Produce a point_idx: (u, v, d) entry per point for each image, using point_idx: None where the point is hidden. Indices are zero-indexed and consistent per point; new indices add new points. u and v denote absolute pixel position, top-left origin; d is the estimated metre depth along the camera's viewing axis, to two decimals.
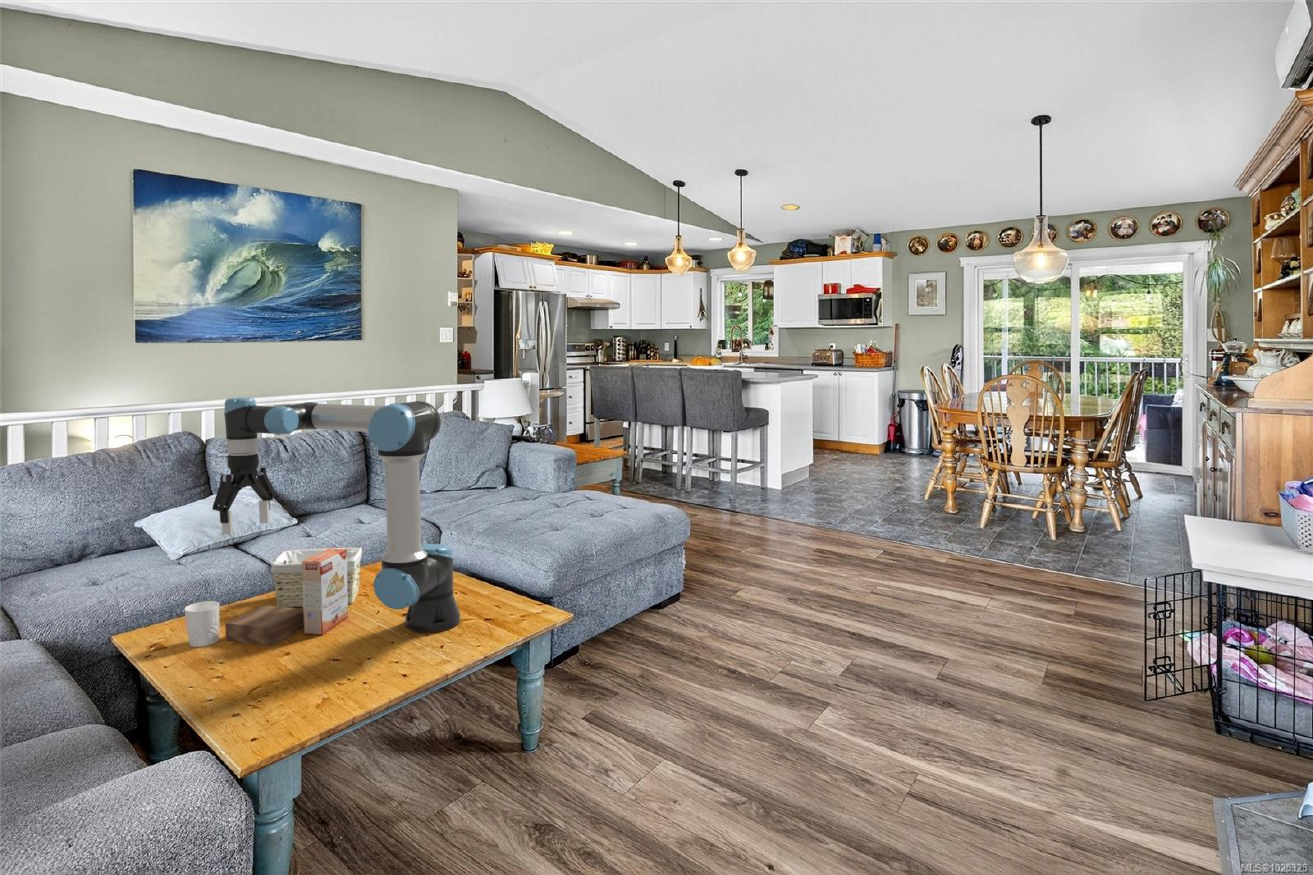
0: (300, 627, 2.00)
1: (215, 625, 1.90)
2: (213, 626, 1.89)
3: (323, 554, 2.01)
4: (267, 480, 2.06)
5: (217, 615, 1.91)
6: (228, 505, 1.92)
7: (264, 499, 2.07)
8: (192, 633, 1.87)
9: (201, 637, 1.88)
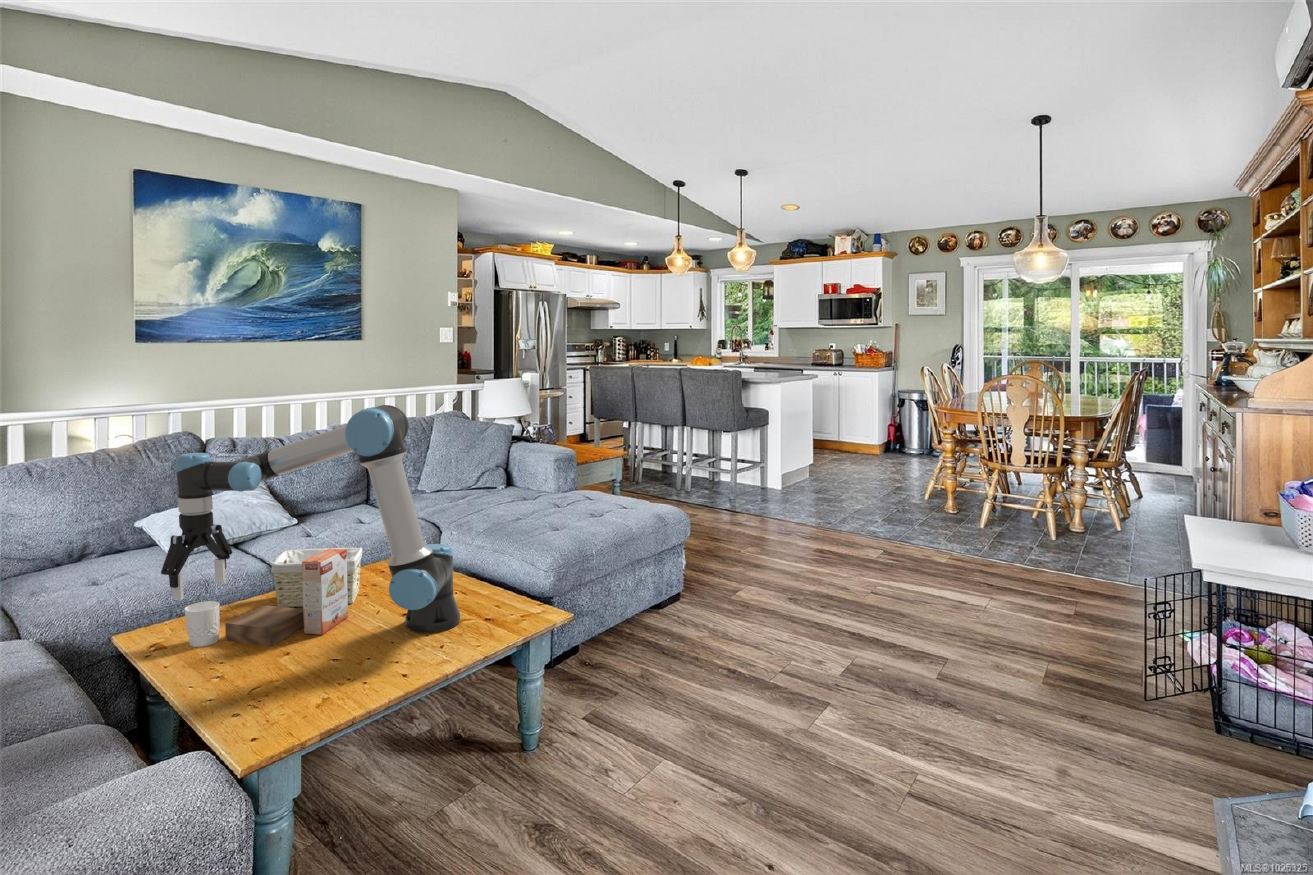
0: (300, 627, 2.00)
1: (215, 625, 1.90)
2: (213, 626, 1.89)
3: (323, 554, 2.01)
4: (223, 538, 1.95)
5: (217, 615, 1.91)
6: (178, 569, 1.81)
7: (220, 558, 1.95)
8: (192, 633, 1.87)
9: (201, 637, 1.88)
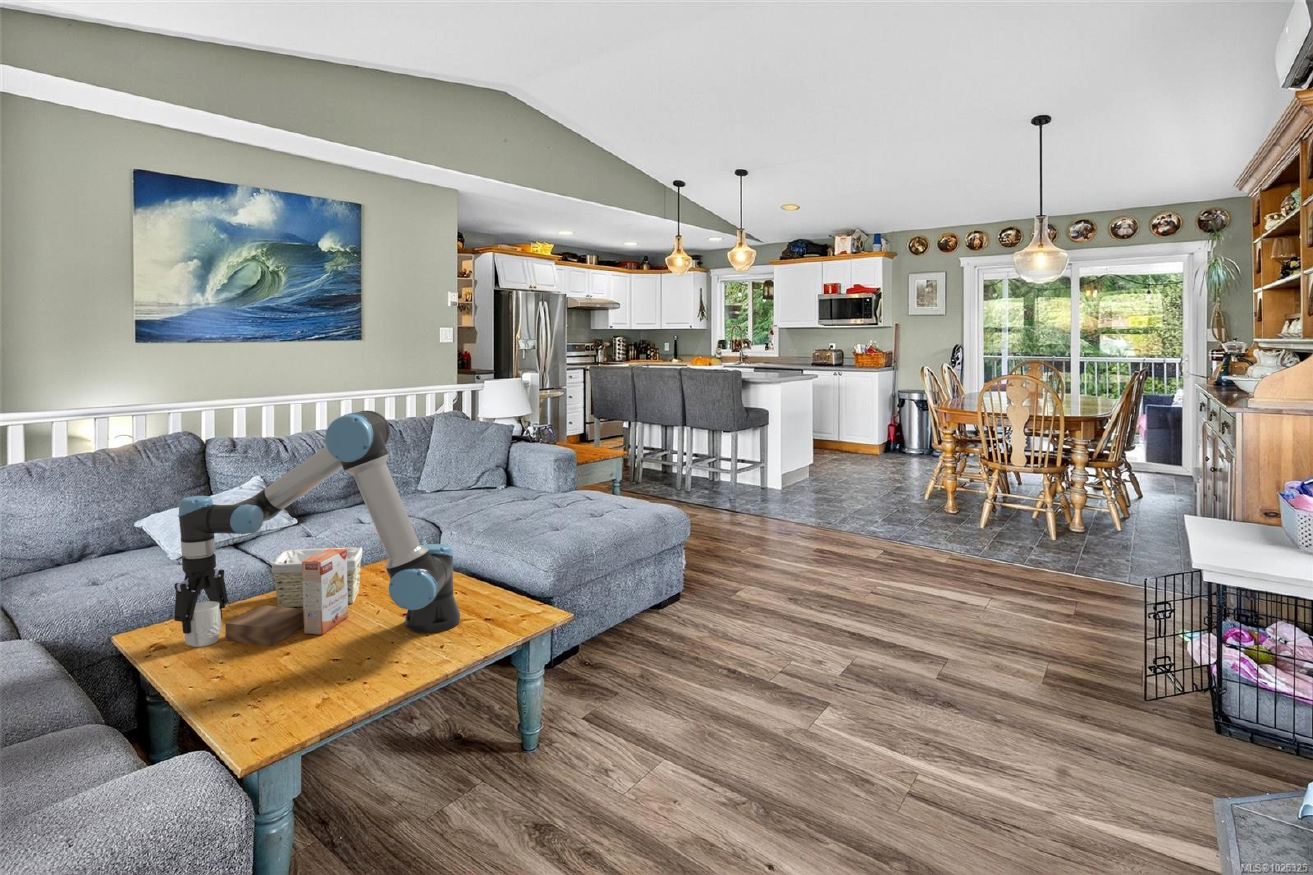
0: (300, 627, 2.00)
1: (215, 625, 1.90)
2: (213, 625, 1.89)
3: (323, 554, 2.01)
4: (223, 584, 1.95)
5: (217, 615, 1.91)
6: (190, 615, 1.85)
7: None
8: None
9: (201, 637, 1.88)
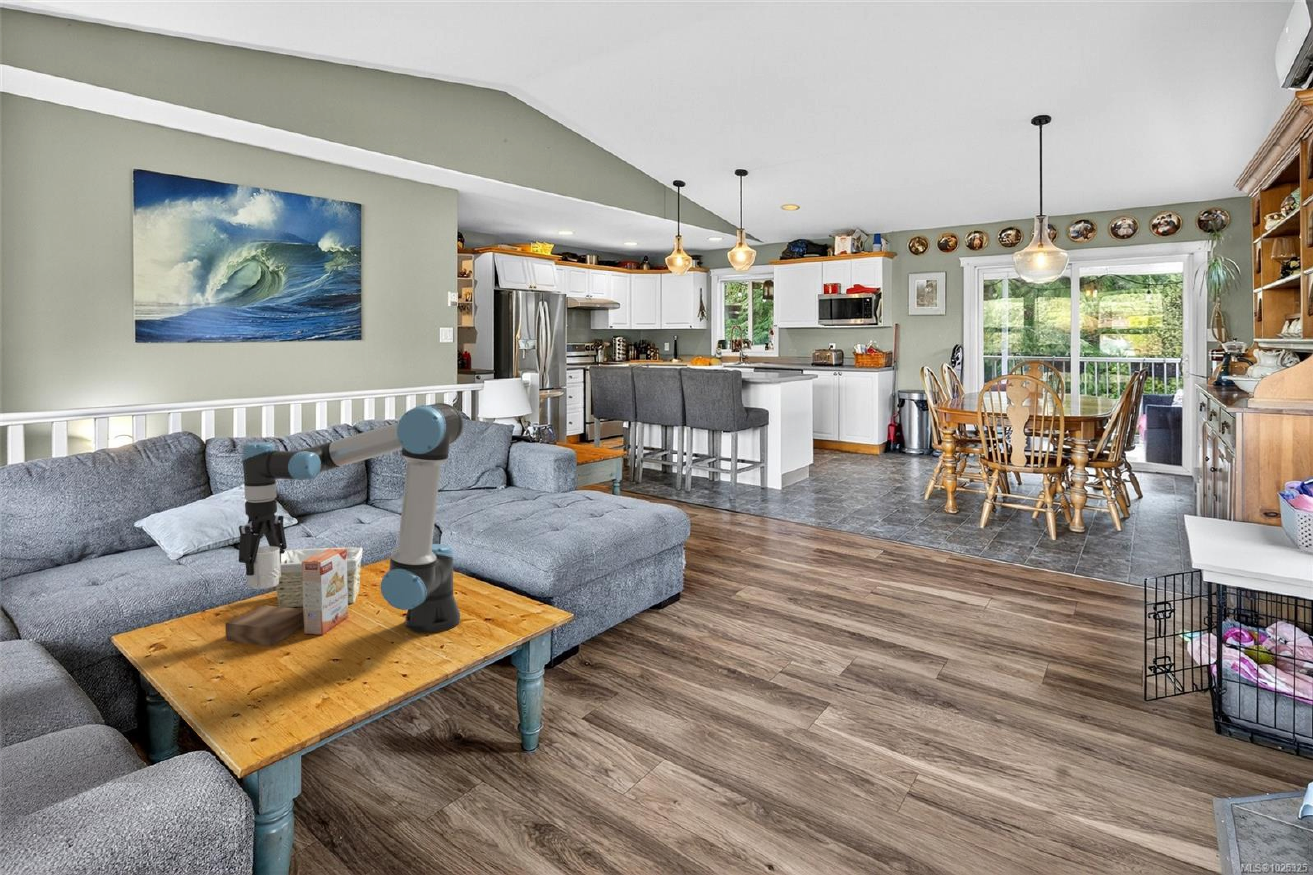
0: (300, 627, 2.00)
1: (276, 568, 1.95)
2: (274, 569, 1.94)
3: (323, 554, 2.01)
4: (282, 530, 2.00)
5: (278, 559, 1.95)
6: (253, 557, 1.90)
7: None
8: None
9: (263, 579, 1.92)
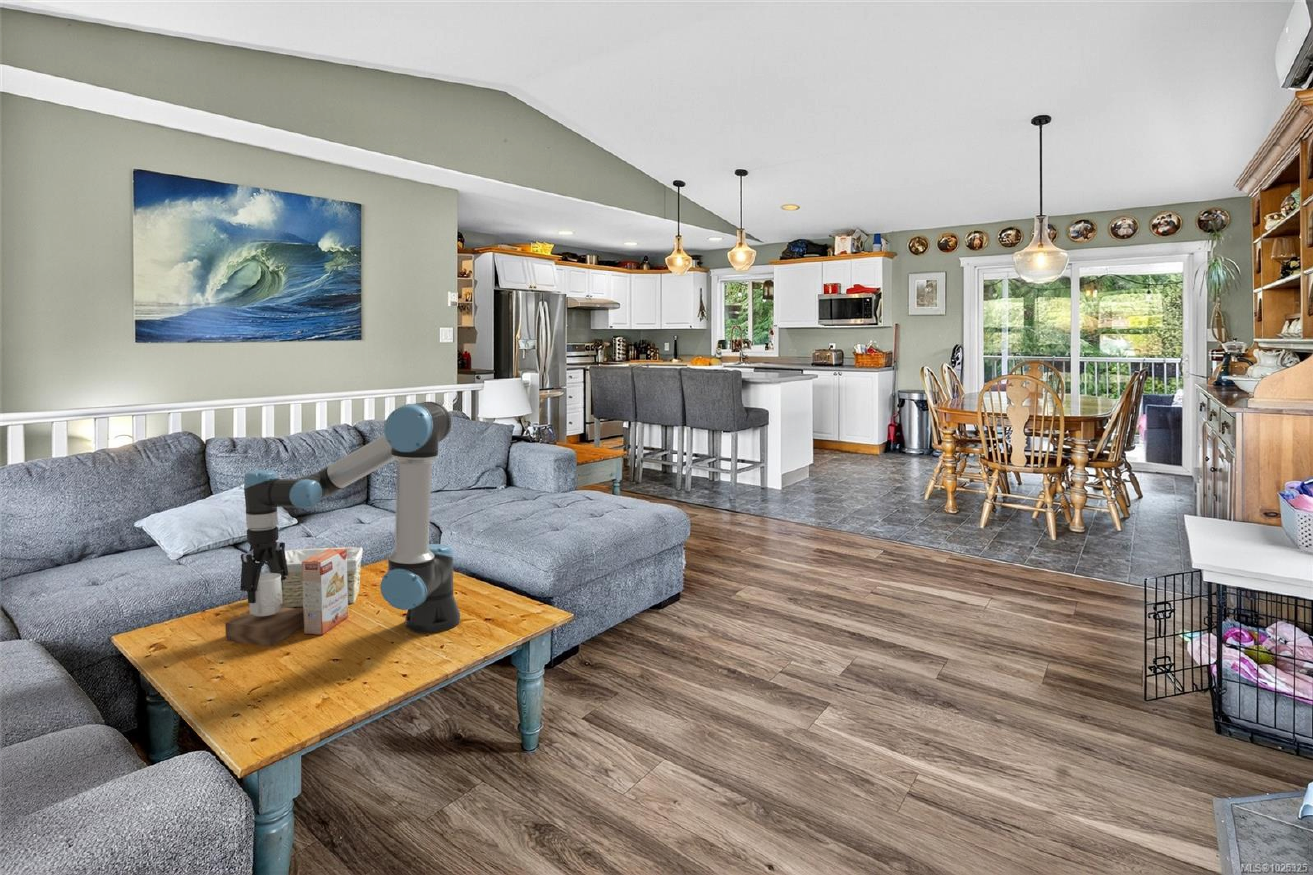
0: (300, 627, 2.00)
1: (277, 595, 1.96)
2: (276, 596, 1.95)
3: (323, 554, 2.01)
4: (284, 556, 2.01)
5: (279, 586, 1.96)
6: (255, 585, 1.91)
7: None
8: None
9: (264, 607, 1.93)
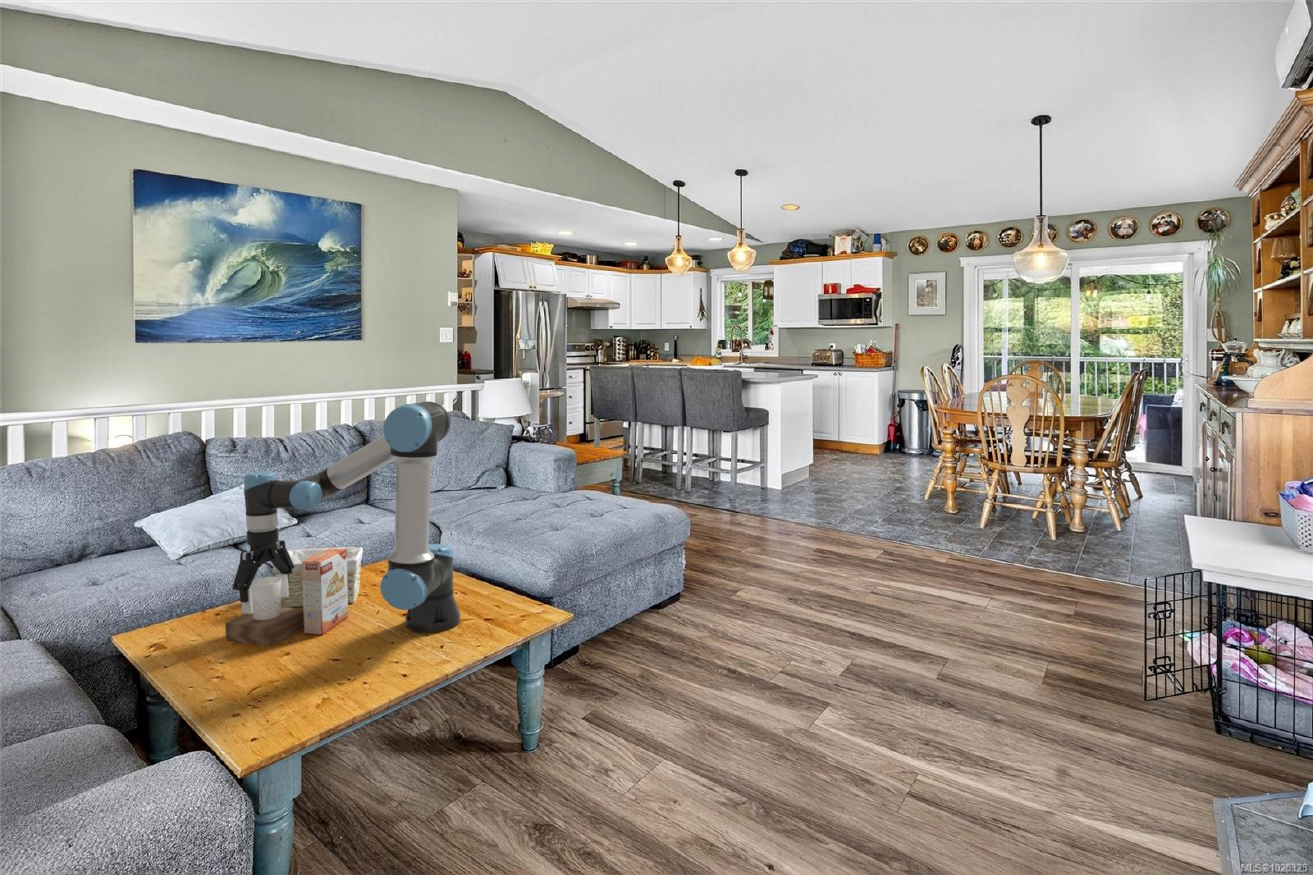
0: (300, 627, 2.00)
1: (278, 599, 1.96)
2: (276, 600, 1.95)
3: (323, 554, 2.01)
4: (286, 553, 2.02)
5: (279, 590, 1.96)
6: (248, 584, 1.88)
7: (283, 572, 2.02)
8: (256, 607, 1.93)
9: (265, 611, 1.93)
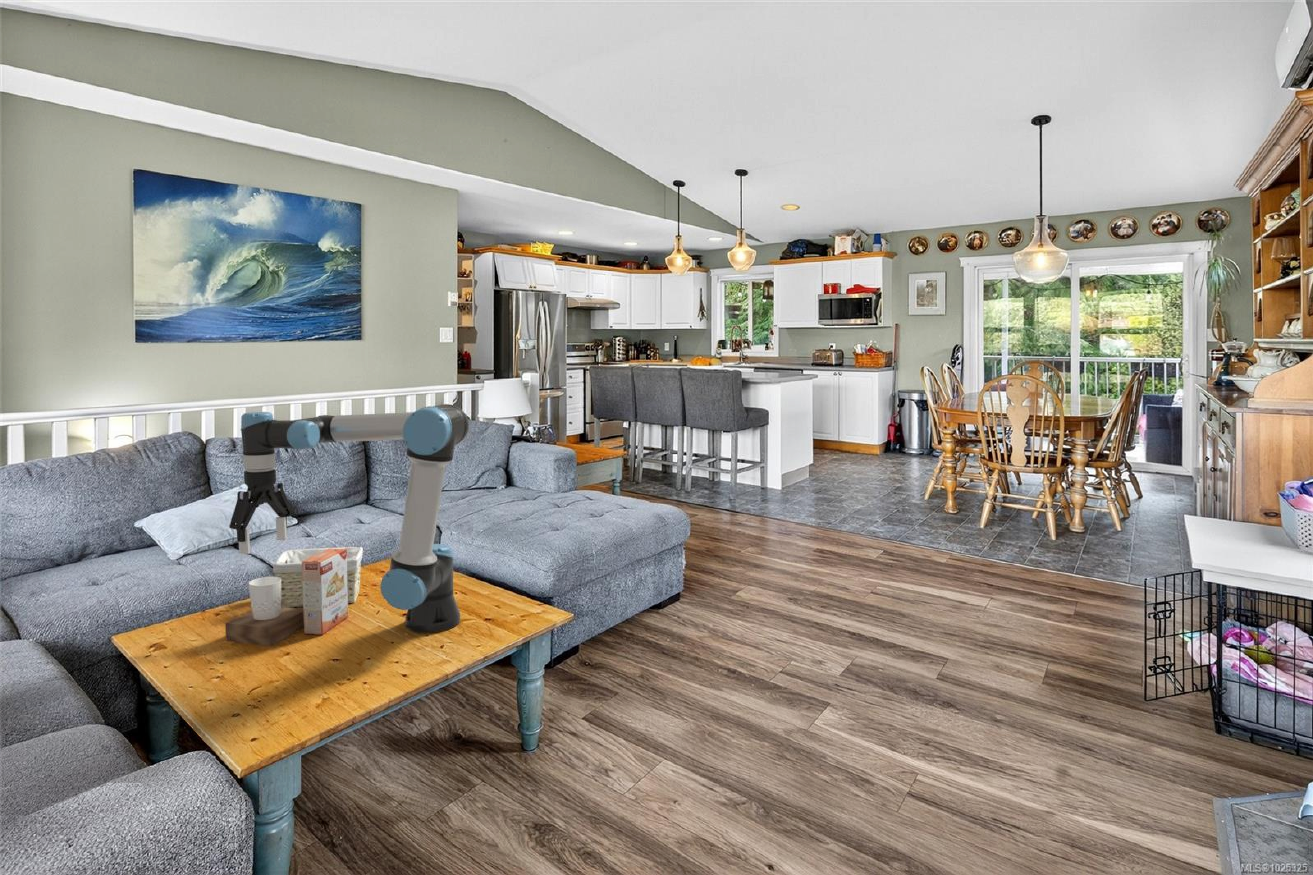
0: (300, 627, 2.00)
1: (278, 599, 1.96)
2: (276, 600, 1.95)
3: (323, 554, 2.01)
4: (284, 496, 2.00)
5: (279, 590, 1.96)
6: (245, 523, 1.86)
7: (281, 516, 2.01)
8: (256, 607, 1.93)
9: (265, 611, 1.93)
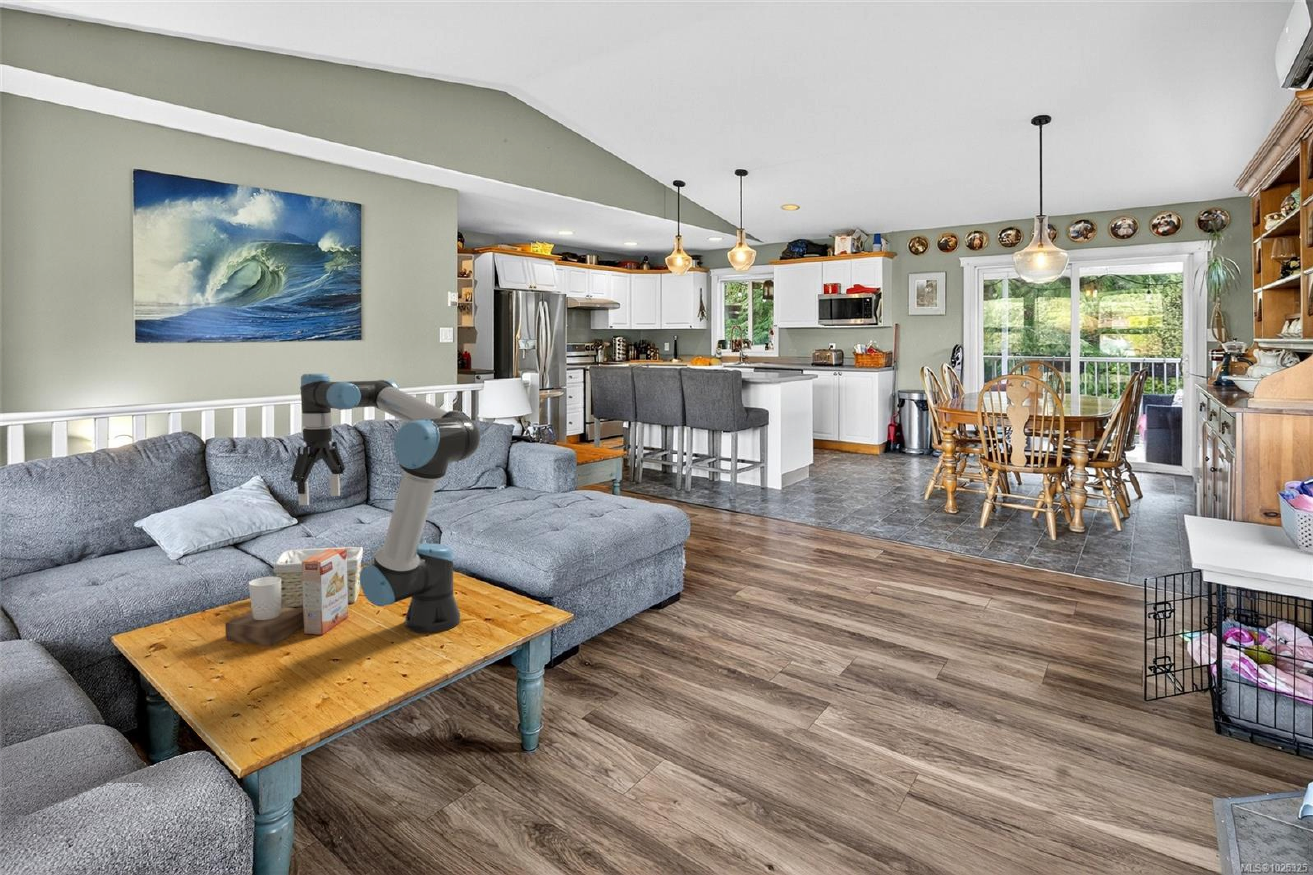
0: (300, 627, 2.00)
1: (278, 599, 1.96)
2: (276, 600, 1.95)
3: (323, 554, 2.01)
4: (338, 454, 2.13)
5: (279, 590, 1.96)
6: (305, 476, 1.99)
7: (335, 472, 2.14)
8: (256, 607, 1.93)
9: (265, 611, 1.93)
